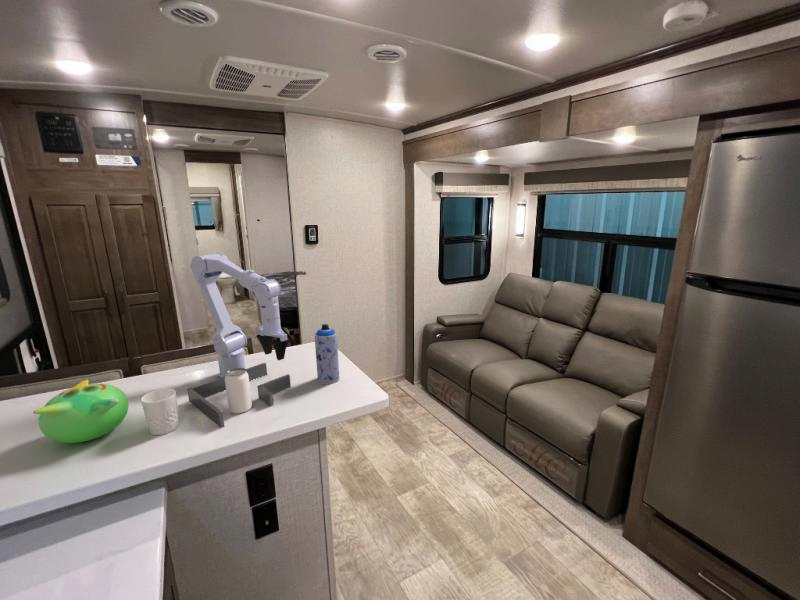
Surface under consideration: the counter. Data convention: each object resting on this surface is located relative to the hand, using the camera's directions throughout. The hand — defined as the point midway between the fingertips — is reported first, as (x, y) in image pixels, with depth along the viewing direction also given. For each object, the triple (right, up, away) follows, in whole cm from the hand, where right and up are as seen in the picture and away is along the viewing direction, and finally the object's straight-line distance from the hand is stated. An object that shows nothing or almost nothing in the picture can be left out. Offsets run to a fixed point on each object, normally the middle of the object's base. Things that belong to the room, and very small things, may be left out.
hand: (274, 356), depth 124 cm
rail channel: (-7, -12, -5) cm, 15 cm away
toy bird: (-40, -18, -25) cm, 51 cm away
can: (-6, -14, -12) cm, 20 cm away
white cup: (-23, -17, -22) cm, 36 cm away
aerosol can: (+17, -9, +6) cm, 20 cm away
